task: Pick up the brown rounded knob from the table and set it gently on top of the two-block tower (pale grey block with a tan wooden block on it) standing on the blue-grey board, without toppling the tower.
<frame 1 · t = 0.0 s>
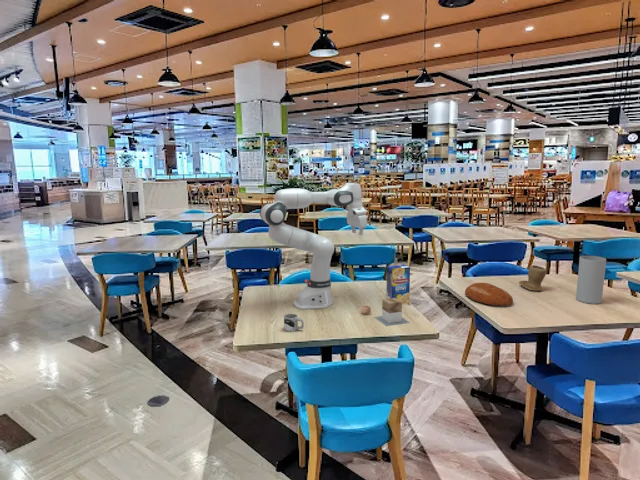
hand: (357, 233, 242), 39 cm above the table, tool pointing down, fingers open, 8 cm apart
brown rounded knob: (365, 316, 219), on the table
cylinder vase: (588, 301, 239), on the table
bread: (487, 299, 245), on the table
brown boot: (532, 289, 264), on the table
beverage box: (397, 304, 237), on the table
tan wooden block: (391, 310, 208), point 6 cm above the table, touching grey tower block
blue-grey board: (391, 322, 210), on the table
mug: (294, 329, 202), on the table
grey tower block: (391, 319, 209), point 1 cm above the table, touching blue-grey board, tan wooden block
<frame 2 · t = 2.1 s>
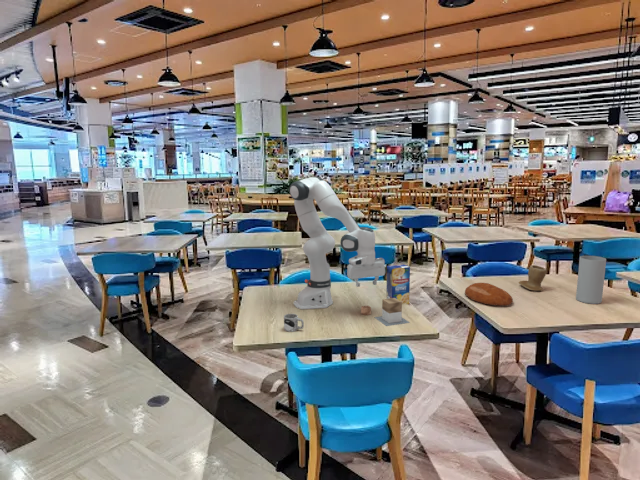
hand: (366, 285, 216), 17 cm above the table, tool pointing down, fingers open, 8 cm apart
nothing on the table moved.
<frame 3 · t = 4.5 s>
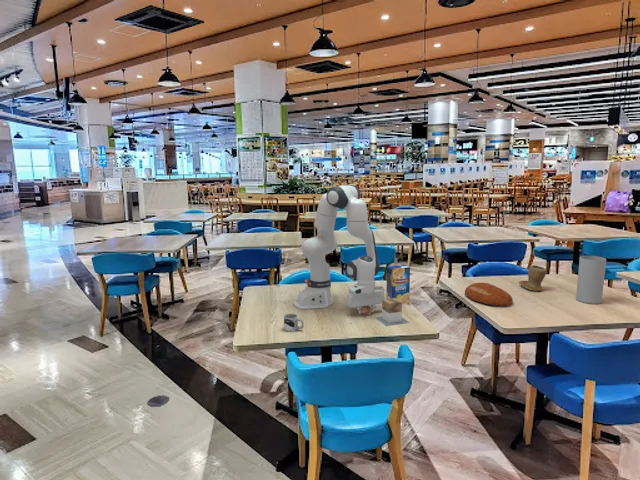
hand: (365, 313, 219), 2 cm above the table, tool pointing down, fingers closed on brown rounded knob, 5 cm apart
brown rounded knob: (365, 316, 219), on the table, touching gripper
everything else where it was.
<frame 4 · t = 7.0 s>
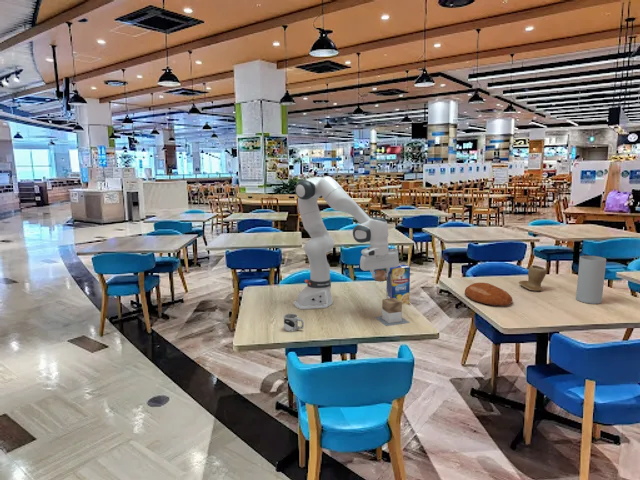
hand: (380, 277, 210), 22 cm above the table, tool pointing down, fingers closed on brown rounded knob, 5 cm apart
brown rounded knob: (380, 280, 210), point 21 cm above the table, touching gripper
everything else where it was.
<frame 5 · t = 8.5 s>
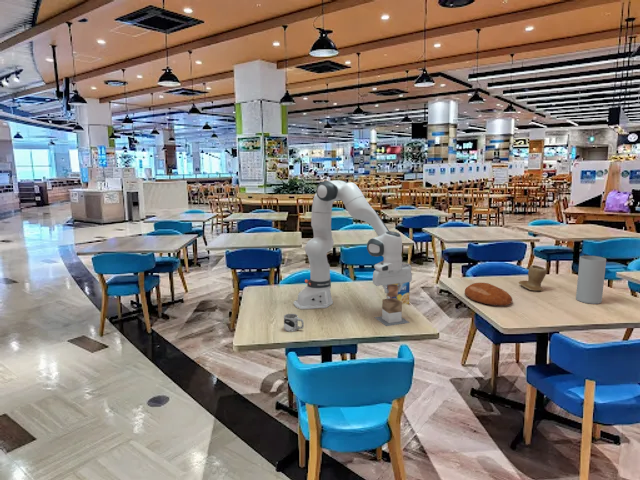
hand: (392, 292, 207), 16 cm above the table, tool pointing down, fingers closed on brown rounded knob, 5 cm apart
brown rounded knob: (392, 295, 207), point 14 cm above the table, touching gripper
everything else where it was.
when the fingers open (14 cm above the table, at t = 9.6 s): brown rounded knob stays where it is, resting on tan wooden block.
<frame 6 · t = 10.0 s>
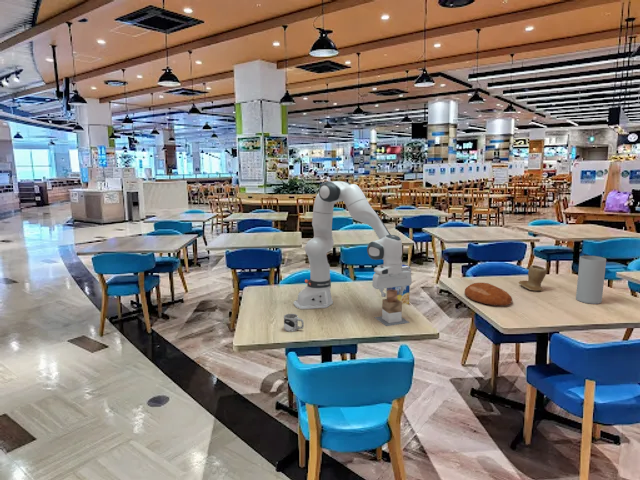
hand: (392, 295, 207), 14 cm above the table, tool pointing down, fingers open, 8 cm apart
brown rounded knob: (392, 300, 208), point 11 cm above the table, touching tan wooden block
tan wooden block: (391, 310, 208), point 6 cm above the table, touching grey tower block, brown rounded knob
everything else where it was.
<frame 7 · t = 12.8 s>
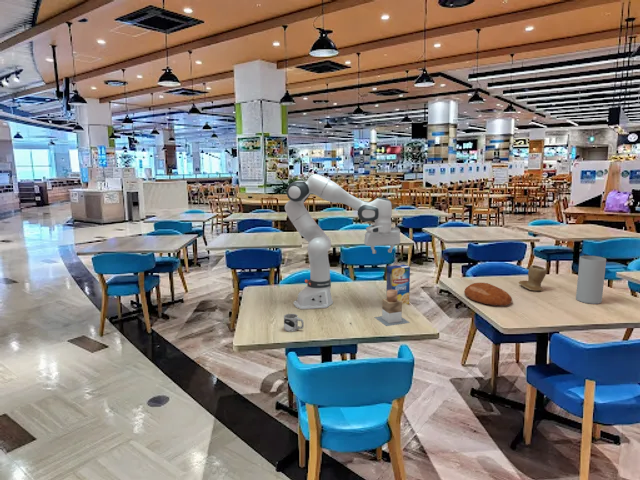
hand: (382, 253, 229), 31 cm above the table, tool pointing down, fingers open, 8 cm apart
nothing on the table moved.
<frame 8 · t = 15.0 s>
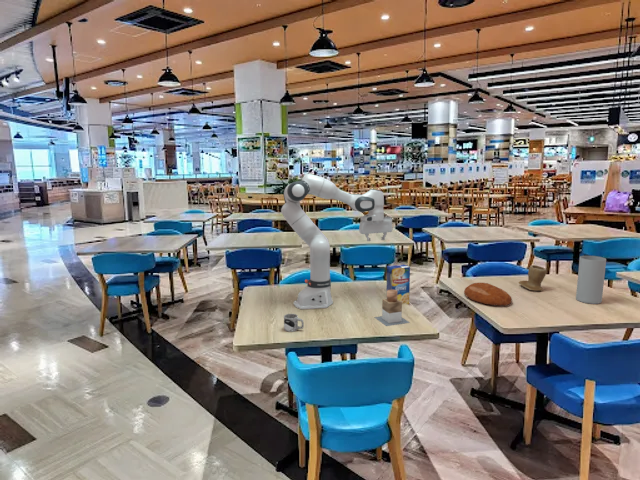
hand: (375, 240, 247), 34 cm above the table, tool pointing down, fingers open, 8 cm apart
nothing on the table moved.
at the end: brown rounded knob 0.0 cm off-centre on the tan wooden block, point 5.0 cm above the tan wooden block's base; tan wooden block 0.0 cm off-centre on the grey tower block, point 5.0 cm above the grey tower block's base; brown rounded knob tilted 0° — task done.
